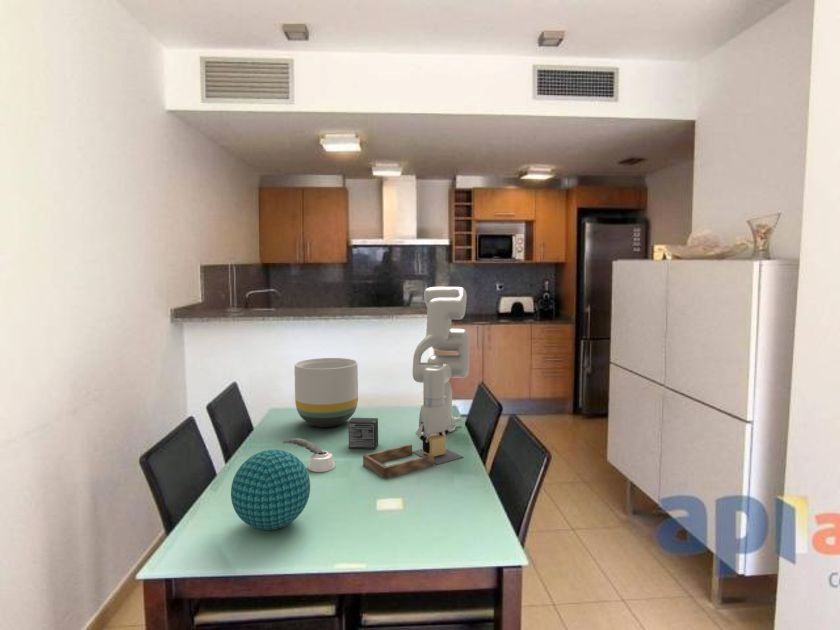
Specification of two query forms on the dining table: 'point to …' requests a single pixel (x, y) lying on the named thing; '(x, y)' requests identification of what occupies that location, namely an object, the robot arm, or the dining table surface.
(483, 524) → the dining table surface
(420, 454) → the charcoal mat
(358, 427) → the small box
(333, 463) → the inkwell
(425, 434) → the robot arm
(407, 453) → the walnut cubby
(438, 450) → the ochre cube
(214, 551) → the dining table surface
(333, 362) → the planter
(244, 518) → the decorative ball
